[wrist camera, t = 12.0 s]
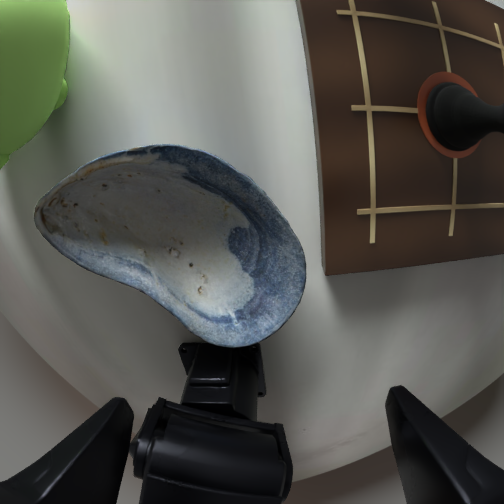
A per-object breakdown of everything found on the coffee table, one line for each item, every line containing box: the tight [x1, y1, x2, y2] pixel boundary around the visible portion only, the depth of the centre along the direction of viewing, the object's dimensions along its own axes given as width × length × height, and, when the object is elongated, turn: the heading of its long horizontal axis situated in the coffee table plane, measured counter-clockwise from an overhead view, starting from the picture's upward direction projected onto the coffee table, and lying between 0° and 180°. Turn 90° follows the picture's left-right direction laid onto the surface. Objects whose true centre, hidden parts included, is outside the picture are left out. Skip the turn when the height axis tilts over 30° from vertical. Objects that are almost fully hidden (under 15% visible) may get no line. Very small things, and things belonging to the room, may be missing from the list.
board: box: [296, 0, 504, 276], centre depth 14 cm, size 20×18×2 cm
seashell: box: [34, 144, 306, 348], centre depth 17 cm, size 15×12×5 cm
